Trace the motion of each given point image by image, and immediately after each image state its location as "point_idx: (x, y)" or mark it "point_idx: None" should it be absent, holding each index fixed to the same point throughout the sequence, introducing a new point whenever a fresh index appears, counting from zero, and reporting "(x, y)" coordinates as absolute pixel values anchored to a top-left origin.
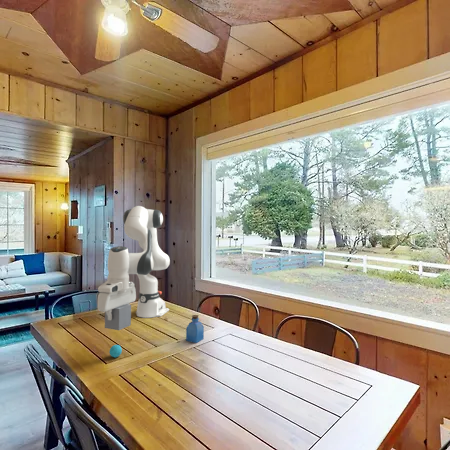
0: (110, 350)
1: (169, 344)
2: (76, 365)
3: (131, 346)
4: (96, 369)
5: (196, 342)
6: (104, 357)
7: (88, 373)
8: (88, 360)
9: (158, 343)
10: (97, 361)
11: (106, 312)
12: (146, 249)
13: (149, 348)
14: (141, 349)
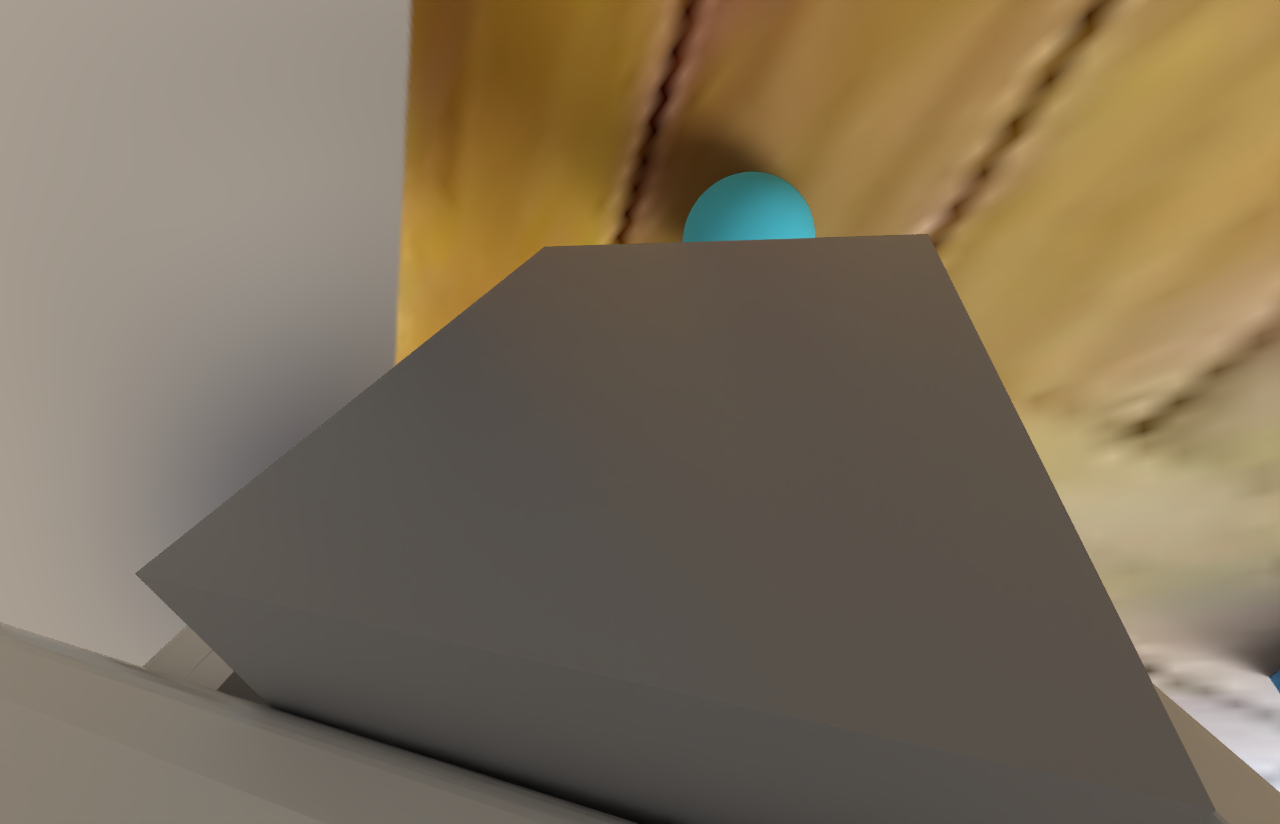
0: (686, 227)
1: (1215, 515)
2: (442, 10)
3: (1098, 178)
4: (514, 253)
5: (1274, 681)
6: (696, 123)
7: (451, 247)
8: (566, 17)
9: (1250, 415)
10: (601, 135)
11: None
12: None
13: (1059, 397)
14: (1013, 341)
